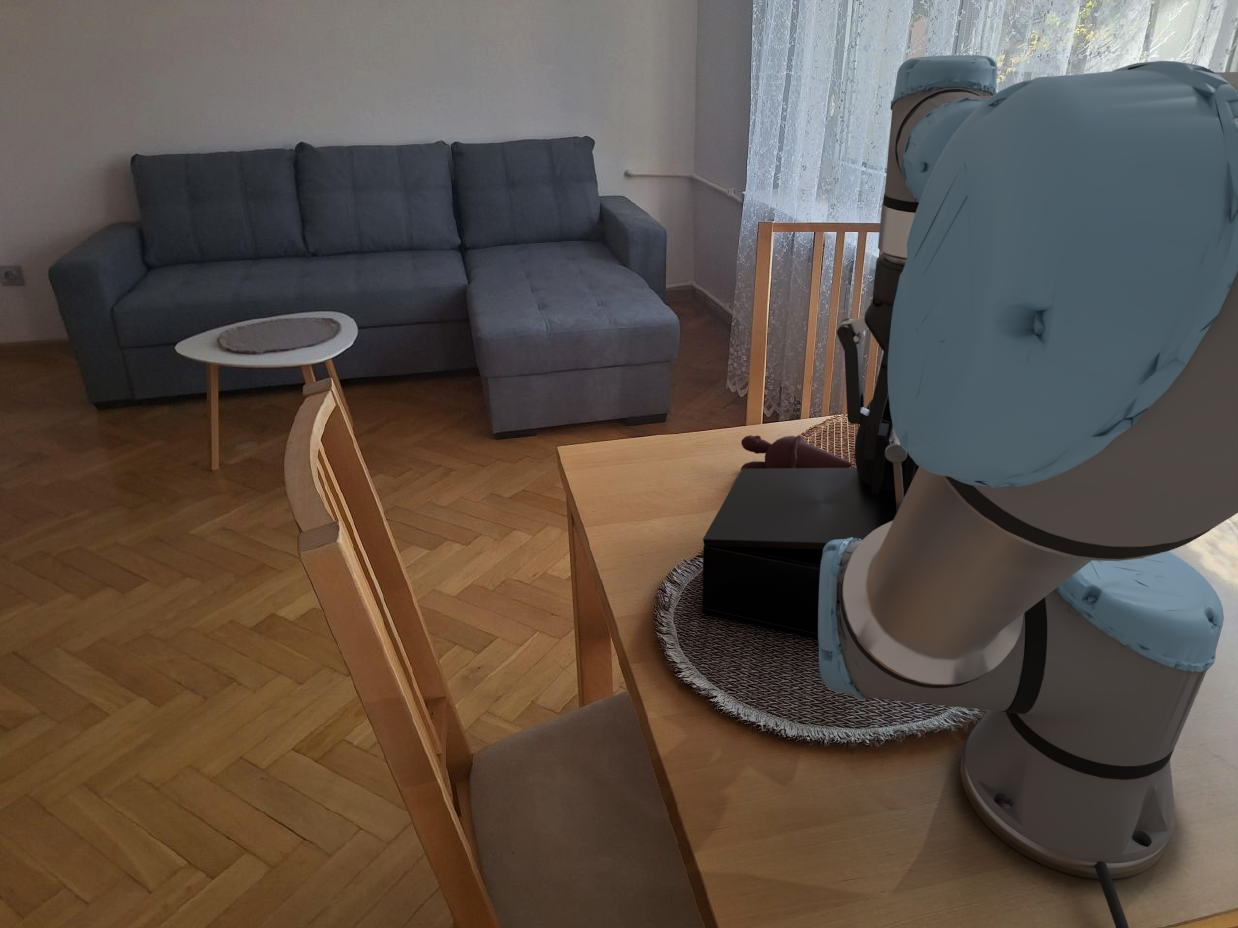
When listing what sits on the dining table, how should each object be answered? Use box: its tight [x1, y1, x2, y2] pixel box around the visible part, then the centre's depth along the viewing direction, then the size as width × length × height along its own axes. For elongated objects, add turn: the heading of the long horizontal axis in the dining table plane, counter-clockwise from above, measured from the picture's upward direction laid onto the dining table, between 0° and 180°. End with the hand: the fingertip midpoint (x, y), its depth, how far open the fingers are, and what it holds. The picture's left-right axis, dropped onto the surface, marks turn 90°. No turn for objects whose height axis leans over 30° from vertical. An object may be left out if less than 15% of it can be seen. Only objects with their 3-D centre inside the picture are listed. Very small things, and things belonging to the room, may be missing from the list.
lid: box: [702, 423, 908, 550], centre depth 85 cm, size 21×16×9 cm
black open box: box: [701, 545, 823, 641], centre depth 90 cm, size 21×16×9 cm
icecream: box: [740, 434, 853, 471], centre depth 112 cm, size 7×7×15 cm
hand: (891, 489), depth 83 cm, fingers open, 2 cm apart
